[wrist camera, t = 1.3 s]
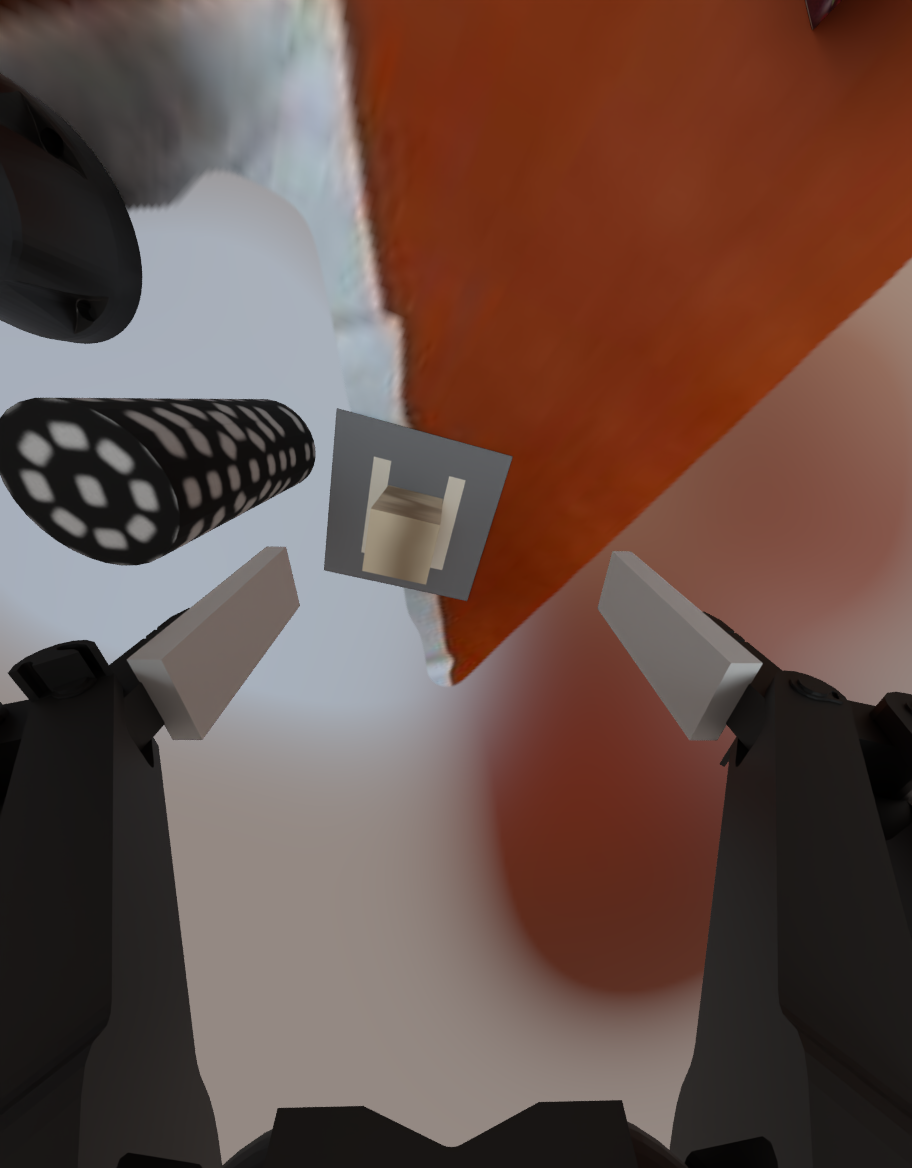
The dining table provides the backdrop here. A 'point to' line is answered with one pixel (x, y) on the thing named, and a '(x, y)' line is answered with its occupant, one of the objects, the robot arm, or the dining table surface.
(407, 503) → the birch block
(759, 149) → the dining table surface
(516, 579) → the dining table surface
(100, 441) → the white-spotted black cylinder
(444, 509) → the board
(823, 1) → the juice carton
